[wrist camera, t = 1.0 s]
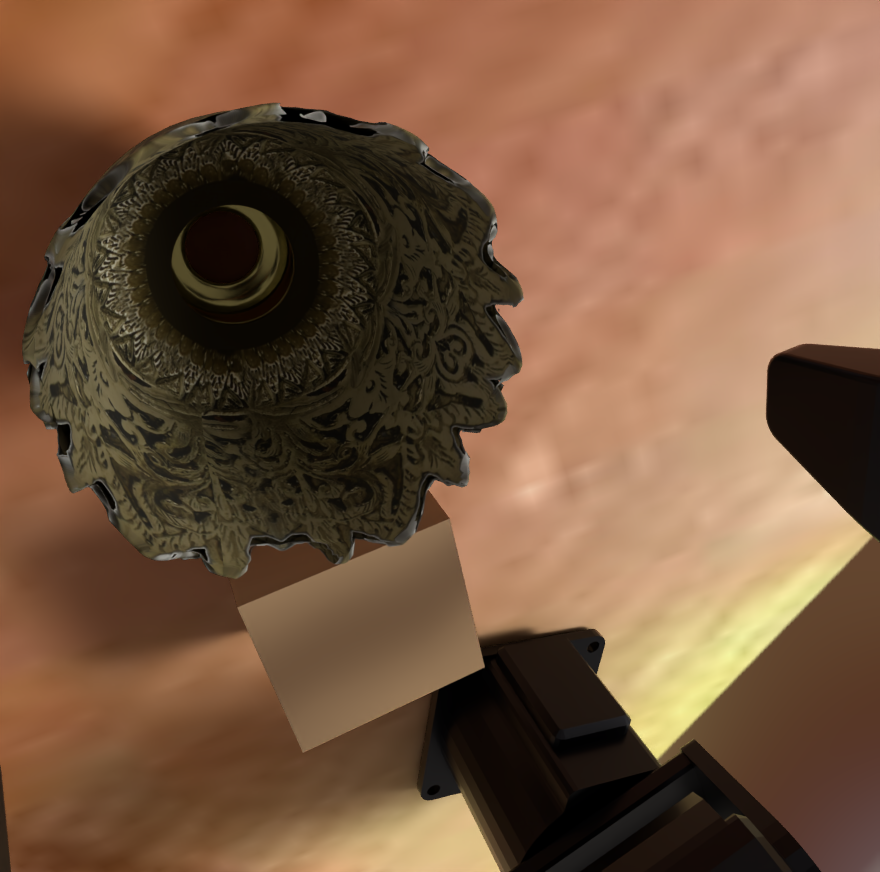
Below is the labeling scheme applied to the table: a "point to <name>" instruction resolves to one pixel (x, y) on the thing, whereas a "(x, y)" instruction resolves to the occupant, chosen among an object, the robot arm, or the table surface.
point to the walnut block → (359, 626)
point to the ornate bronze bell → (272, 337)
